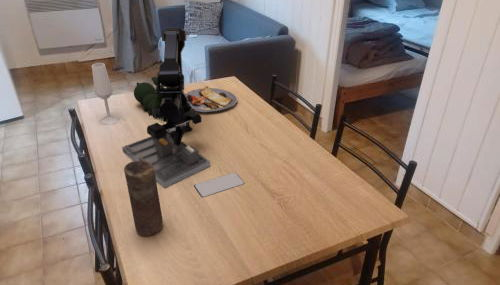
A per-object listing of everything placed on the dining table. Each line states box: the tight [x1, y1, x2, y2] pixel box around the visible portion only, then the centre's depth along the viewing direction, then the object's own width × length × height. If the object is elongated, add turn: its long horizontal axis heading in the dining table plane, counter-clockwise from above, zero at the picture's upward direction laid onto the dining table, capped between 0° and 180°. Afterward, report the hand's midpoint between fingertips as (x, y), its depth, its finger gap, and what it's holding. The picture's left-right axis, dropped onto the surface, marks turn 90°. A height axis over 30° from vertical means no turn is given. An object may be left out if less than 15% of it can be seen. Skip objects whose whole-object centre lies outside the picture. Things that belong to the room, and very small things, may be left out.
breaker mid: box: [155, 139, 173, 158], centre depth 126 cm, size 4×4×5 cm
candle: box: [123, 161, 164, 237], centre depth 95 cm, size 8×7×20 cm
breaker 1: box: [152, 133, 167, 142], centre depth 135 cm, size 4×4×5 cm
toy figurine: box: [133, 76, 165, 116], centre depth 157 cm, size 9×19×25 cm
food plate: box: [185, 86, 238, 113], centre depth 168 cm, size 25×23×4 cm
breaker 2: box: [182, 145, 200, 166], centre depth 123 cm, size 4×4×5 cm
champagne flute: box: [91, 62, 119, 125], centre depth 146 cm, size 7×7×24 cm
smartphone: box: [193, 172, 245, 198], centre depth 117 cm, size 7×1×15 cm
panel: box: [121, 133, 211, 189], centre depth 128 cm, size 18×28×3 cm, turn 43°
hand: (177, 145), depth 130 cm, fingers closed
